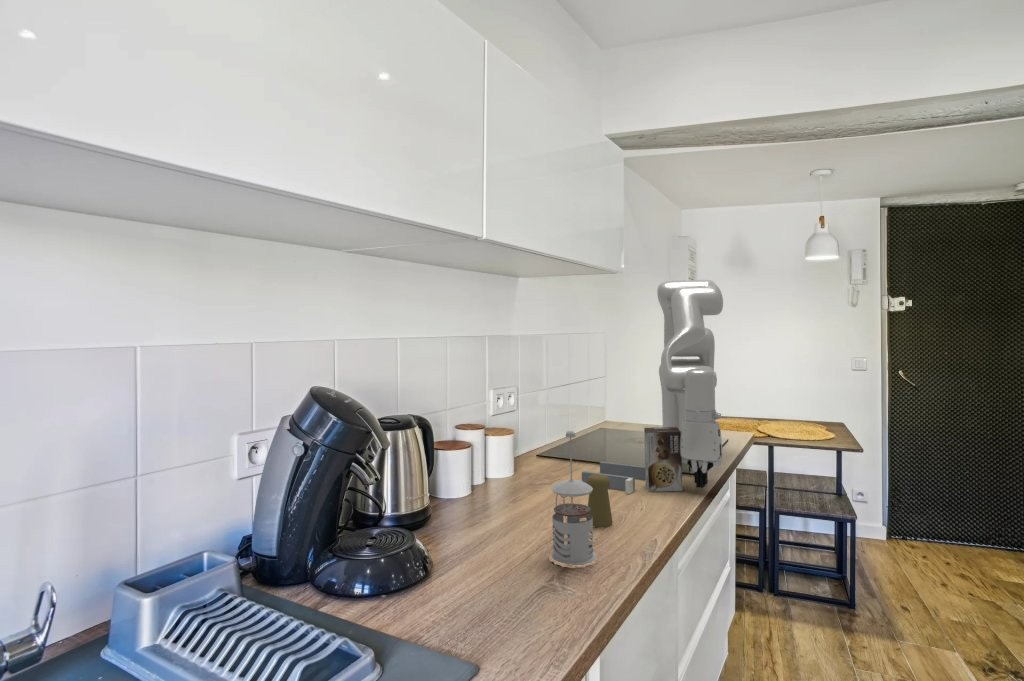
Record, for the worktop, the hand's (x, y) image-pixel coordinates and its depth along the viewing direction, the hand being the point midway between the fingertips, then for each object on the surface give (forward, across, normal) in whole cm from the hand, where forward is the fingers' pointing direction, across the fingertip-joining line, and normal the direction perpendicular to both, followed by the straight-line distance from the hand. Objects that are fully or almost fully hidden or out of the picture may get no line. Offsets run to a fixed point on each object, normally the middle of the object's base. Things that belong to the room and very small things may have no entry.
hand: (701, 486), depth 157 cm
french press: (+2, +11, +53) cm, 54 cm away
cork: (+2, +14, +33) cm, 36 cm away
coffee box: (+2, +10, 0) cm, 10 cm away
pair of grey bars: (+2, +24, 0) cm, 24 cm away
